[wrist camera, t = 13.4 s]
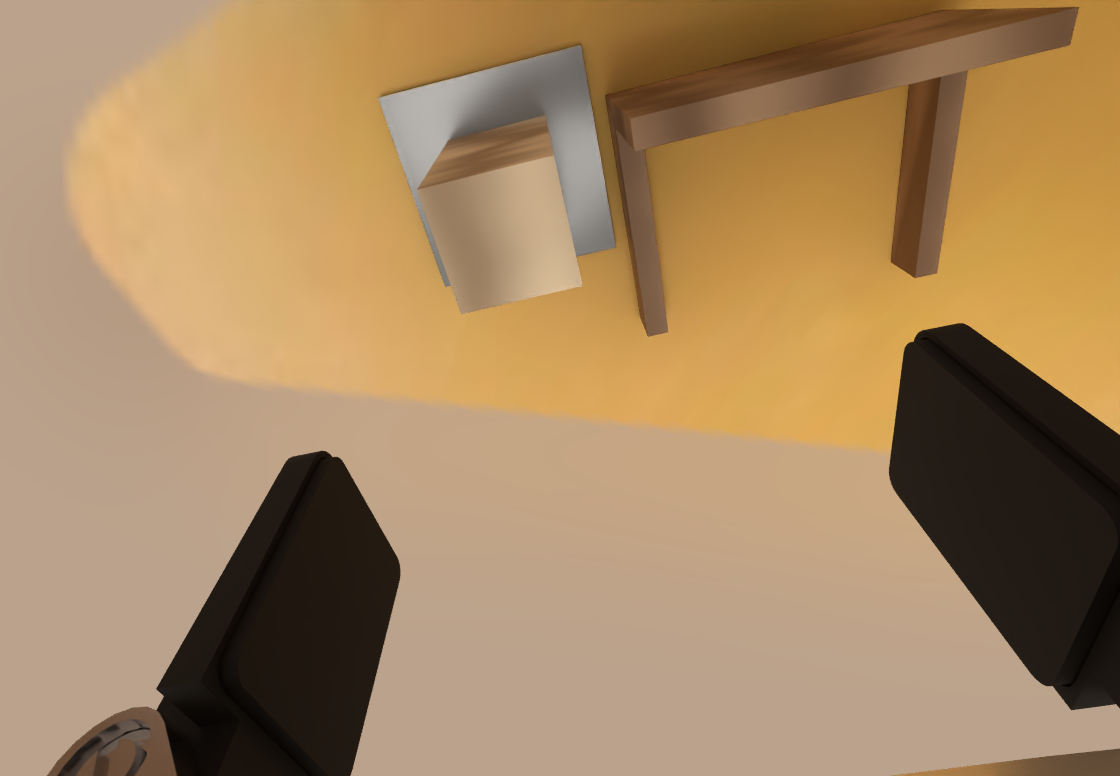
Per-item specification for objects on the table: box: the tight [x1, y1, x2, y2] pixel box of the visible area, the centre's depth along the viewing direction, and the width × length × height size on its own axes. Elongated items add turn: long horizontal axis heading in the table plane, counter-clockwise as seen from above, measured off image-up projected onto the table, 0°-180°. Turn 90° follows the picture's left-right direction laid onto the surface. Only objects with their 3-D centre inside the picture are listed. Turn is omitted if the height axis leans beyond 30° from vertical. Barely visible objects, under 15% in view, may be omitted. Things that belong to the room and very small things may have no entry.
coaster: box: [378, 45, 616, 287], centre depth 30 cm, size 10×10×1 cm
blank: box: [417, 115, 583, 314], centre depth 26 cm, size 5×5×10 cm
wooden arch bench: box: [605, 7, 1079, 336], centre depth 28 cm, size 16×13×8 cm
